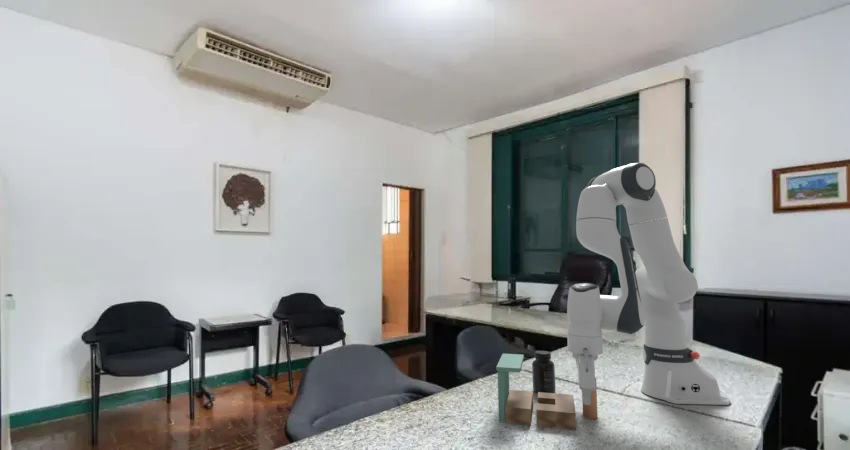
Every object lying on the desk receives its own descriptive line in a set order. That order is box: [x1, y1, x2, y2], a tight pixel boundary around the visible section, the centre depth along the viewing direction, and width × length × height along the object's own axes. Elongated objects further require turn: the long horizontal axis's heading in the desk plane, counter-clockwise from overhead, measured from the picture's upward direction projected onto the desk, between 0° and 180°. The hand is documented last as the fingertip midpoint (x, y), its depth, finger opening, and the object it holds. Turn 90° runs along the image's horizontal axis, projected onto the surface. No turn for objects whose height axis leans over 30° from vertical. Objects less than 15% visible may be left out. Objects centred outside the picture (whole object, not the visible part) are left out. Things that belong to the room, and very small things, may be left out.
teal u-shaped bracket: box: [495, 353, 525, 423], centre depth 115 cm, size 6×15×14 cm, turn 164°
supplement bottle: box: [531, 350, 556, 394], centre depth 133 cm, size 7×7×12 cm
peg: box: [581, 377, 598, 420], centre depth 112 cm, size 4×4×10 cm
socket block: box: [505, 389, 577, 431], centre depth 113 cm, size 17×14×4 cm
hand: (585, 398), depth 113 cm, fingers open, 8 cm apart
